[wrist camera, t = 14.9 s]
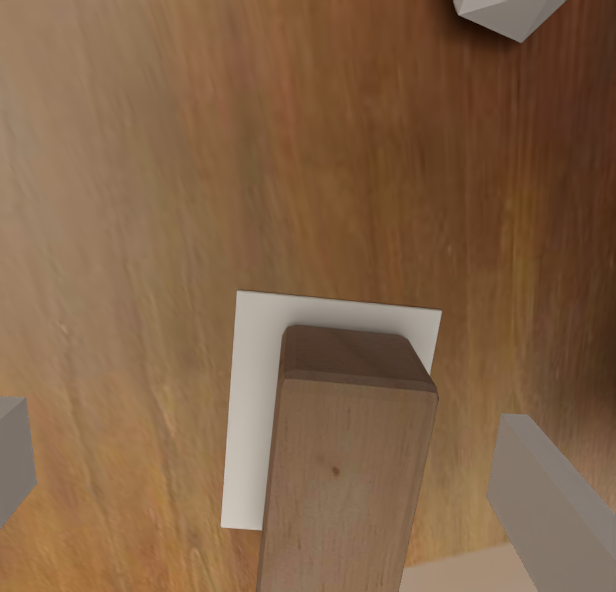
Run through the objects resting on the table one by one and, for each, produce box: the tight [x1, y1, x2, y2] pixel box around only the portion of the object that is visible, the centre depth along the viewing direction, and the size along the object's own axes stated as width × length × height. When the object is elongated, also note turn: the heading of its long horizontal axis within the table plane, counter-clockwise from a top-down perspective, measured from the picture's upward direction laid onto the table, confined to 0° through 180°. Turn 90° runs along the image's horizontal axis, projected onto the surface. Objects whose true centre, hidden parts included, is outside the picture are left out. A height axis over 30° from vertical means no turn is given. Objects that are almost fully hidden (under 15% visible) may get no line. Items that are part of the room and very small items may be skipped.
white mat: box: [221, 290, 442, 530], centre depth 41 cm, size 16×22×1 cm
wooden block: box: [256, 325, 439, 592], centre depth 36 cm, size 10×10×20 cm
